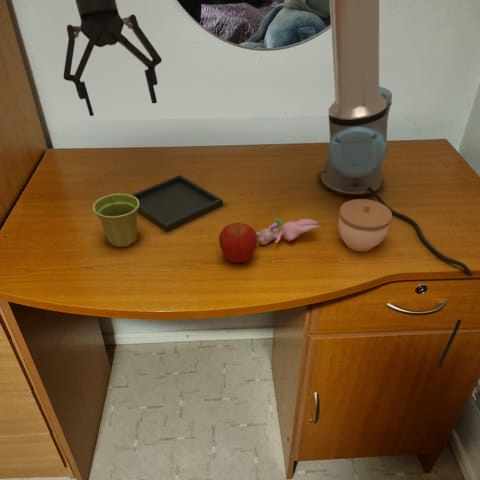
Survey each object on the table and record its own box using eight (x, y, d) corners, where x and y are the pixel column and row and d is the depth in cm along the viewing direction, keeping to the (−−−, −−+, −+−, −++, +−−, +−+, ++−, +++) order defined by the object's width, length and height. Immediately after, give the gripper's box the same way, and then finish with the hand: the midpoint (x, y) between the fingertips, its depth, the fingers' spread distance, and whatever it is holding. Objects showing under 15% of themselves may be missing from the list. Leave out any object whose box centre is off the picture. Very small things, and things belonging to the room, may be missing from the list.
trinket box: (384, 260, 100) (395, 222, 94) (332, 254, 102) (339, 216, 95) (384, 232, 108) (393, 194, 101) (336, 226, 109) (342, 189, 103)
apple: (255, 246, 104) (256, 215, 98) (257, 269, 98) (258, 237, 93) (219, 247, 104) (218, 215, 98) (219, 270, 98) (218, 238, 92)
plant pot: (103, 228, 109) (95, 193, 102) (145, 226, 109) (140, 192, 103) (98, 253, 102) (89, 218, 96) (143, 251, 102) (137, 215, 96)
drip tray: (222, 205, 116) (222, 199, 114) (167, 232, 107) (166, 226, 106) (180, 180, 124) (179, 174, 123) (125, 203, 116) (124, 197, 115)
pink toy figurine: (256, 256, 103) (323, 239, 104) (252, 234, 99) (322, 216, 99) (250, 240, 108) (314, 223, 108) (246, 217, 103) (313, 200, 104)
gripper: (153, -15, 99) (176, 97, 109) (28, 4, 94) (64, 119, 104) (159, -22, 92) (183, 98, 102) (25, -2, 87) (64, 122, 97)
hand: (123, 109), depth 103 cm, fingers open, 13 cm apart
